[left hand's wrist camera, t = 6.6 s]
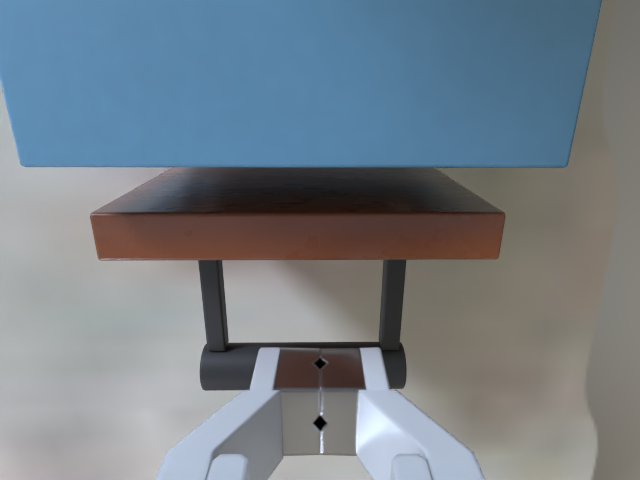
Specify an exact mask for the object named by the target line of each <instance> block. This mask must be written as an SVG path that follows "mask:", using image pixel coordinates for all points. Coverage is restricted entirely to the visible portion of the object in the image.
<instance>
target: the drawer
mask: <svg viewBox="0 0 640 480" xmlns="http://www.w3.org/2000/svg"><path fill="white" fill-rule="evenodd" d="M90 218H91V224H92V229H93V234H94V239H95V245H96V250H97V255H98V258H99V260H198V261H199V271H200V280H201V290H202V300H203V309H204V319H205V329H206V338H207V344H206V345H205V347H204V349H203V352H202V356H201V362H200V382H201V386H202V388H203V390H250V385H251V381H252V377H253V373H254V369H255V364H256V360H257V356H258V352H259V350H260V348H274V347H279V348H320V349H346V348H371V347H379V348H380V349H381V352H382V356H383V360H384V365H385V369H386V373H387V377H388V381H389V385H390V389H402V388H404V386H405V383H406V358H405V352H404V348H403V346H402V343H401V342H400V330H401V318H402V306H403V293H404V281H405V269H406V259H498V257H499V252H500V246H501V240H502V234H503V228H504V221H505V213H504V212H502V211H501V210H499V209H498V208H496V207H494V206H493V205H491V204H490V203H488V202H487V201H485V200H484V199H482V198H480V197H479V196H477V195H476V194H474V193H473V192H471V191H470V190H468V189H466V188H465V187H463V186H462V185H460V184H459V183H457V182H456V181H454V180H452V179H451V178H449V177H448V176H446V175H445V174H443V173H442V172H440V171H438V170H437V169H435V168H434V167H173V168H171V169H169V170H167V171H166V172H164V173H162V174H160V175H158V176H157V177H155V178H153V179H151V180H150V181H148V182H146V183H144V184H142V185H141V186H139V187H137V188H135V189H133V190H132V191H130V192H128V193H126V194H125V195H123V196H121V197H119V198H117V199H116V200H114V201H112V202H110V203H109V204H107V205H105V206H103V207H101V208H100V209H98V210H96V211H94V212H93V213H91V215H90ZM222 260H384V263H383V280H382V296H381V312H380V329H379V342H288V343H228V341H229V340H228V328H227V316H226V304H225V292H224V280H223V268H222Z"/></svg>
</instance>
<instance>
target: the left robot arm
mask: <svg viewBox="0 0 640 480" xmlns="http://www.w3.org/2000/svg"><path fill="white" fill-rule="evenodd" d="M296 455H344V456H357V458H358V460H359V461H360V463H361V464H362V465H363V467H364V468H365V469H366V471H367V472H368V474H369V475H370V476H371V478H372V479H373V480H485V478H484V476H483V473H482V471H481V469H480V466H479V464H478V462H477V459H476V457H475V454H474V452H472V451H471V450H470V449H469V448H467V447H466V446H465V445H464V444H462V443H461V442H460V441H459V440H457V439H456V438H455V437H454V436H453V435H451V434H450V433H449V432H448V431H446V430H445V429H444V428H443V427H441V426H440V425H439V424H438V423H436V422H435V421H434V420H433V419H432V418H430V417H429V416H428V415H427V414H425V413H424V412H423V411H422V410H420V409H419V408H418V407H417V406H415V405H414V404H413V403H412V402H411V401H409V400H408V399H407V398H406V397H404V396H403V395H402V394H401V393H399V392H398V391H397V390H390V385H389V381H388V377H387V373H386V369H385V365H384V360H383V356H382V352H381V349H380V348H379V347H371V348H346V349H320V348H279V347H274V348H260V350H259V352H258V356H257V360H256V364H255V369H254V373H253V377H252V381H251V385H250V390H243V391H242V392H241V393H239V394H238V395H237V396H236V397H234V398H233V399H232V400H231V401H229V402H228V403H227V404H226V405H224V406H223V407H222V408H221V409H220V410H218V411H217V412H216V413H215V414H213V415H212V416H211V417H210V418H208V419H207V420H206V421H205V422H203V423H202V424H201V425H200V426H198V427H197V428H196V429H195V430H193V431H192V432H191V433H190V434H188V435H187V436H186V437H185V438H184V439H182V440H181V441H180V442H179V443H177V444H176V445H175V446H174V447H172V448H171V449H170V450H169V451H167V453H166V455H165V457H164V460H163V462H162V464H161V467H160V469H159V471H158V474H157V476H156V478H155V480H267V479H268V478H269V477H270V475H271V474H272V473H273V471H274V470H275V469H276V467H277V466H278V464H279V463H280V462H281V460H282V459H283V456H296Z"/></svg>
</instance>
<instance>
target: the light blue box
mask: <svg viewBox="0 0 640 480" xmlns="http://www.w3.org/2000/svg"><path fill="white" fill-rule="evenodd" d="M601 2H602V0H0V81H1V85H2V89H3V94H4V98H5V102H6V106H7V110H8V114H9V118H10V123H11V127H12V131H13V135H14V139H15V143H16V148H17V152H18V156H19V160H20V164H21V165H22V166H25V167H436V168H563V167H566V166H567V165H568V161H569V156H570V151H571V146H572V142H573V137H574V132H575V127H576V122H577V117H578V113H579V108H580V103H581V98H582V93H583V88H584V84H585V79H586V74H587V69H588V64H589V60H590V55H591V50H592V45H593V40H594V35H595V31H596V26H597V21H598V16H599V11H600V6H601Z"/></svg>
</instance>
